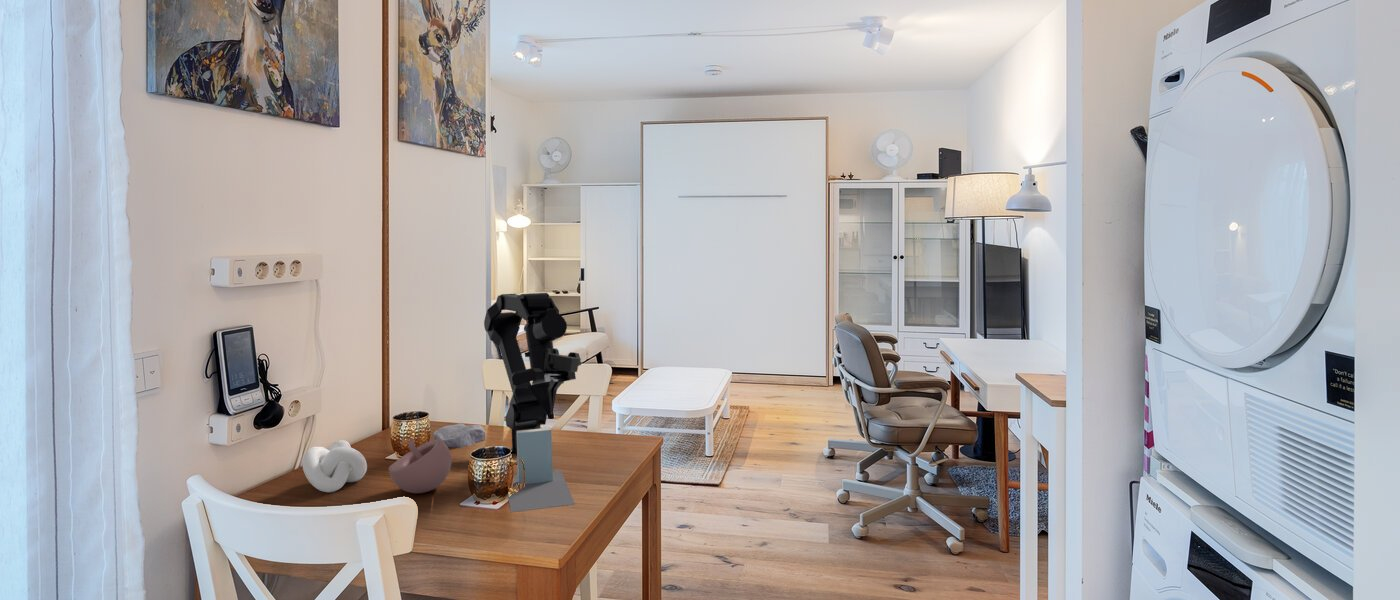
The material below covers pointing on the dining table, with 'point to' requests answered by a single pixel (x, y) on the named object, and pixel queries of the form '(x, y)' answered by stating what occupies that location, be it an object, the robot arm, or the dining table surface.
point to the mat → (541, 494)
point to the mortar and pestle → (422, 467)
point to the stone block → (460, 435)
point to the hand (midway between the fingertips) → (549, 413)
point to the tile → (535, 455)
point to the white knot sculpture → (333, 466)
